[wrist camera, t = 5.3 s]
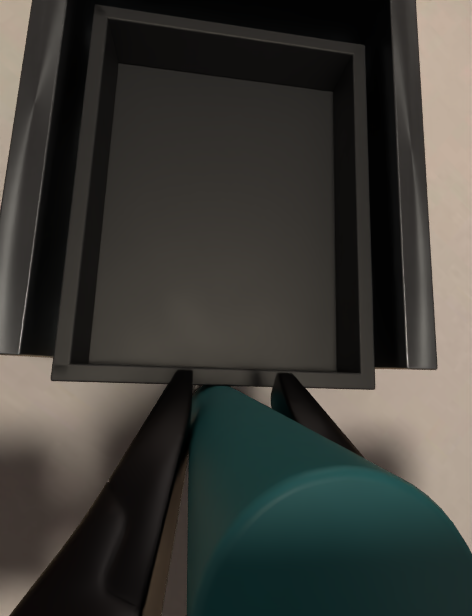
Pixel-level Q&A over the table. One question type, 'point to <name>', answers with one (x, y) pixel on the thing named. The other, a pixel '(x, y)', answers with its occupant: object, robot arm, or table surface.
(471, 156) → the table surface
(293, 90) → the black compartment tray
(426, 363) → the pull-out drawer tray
